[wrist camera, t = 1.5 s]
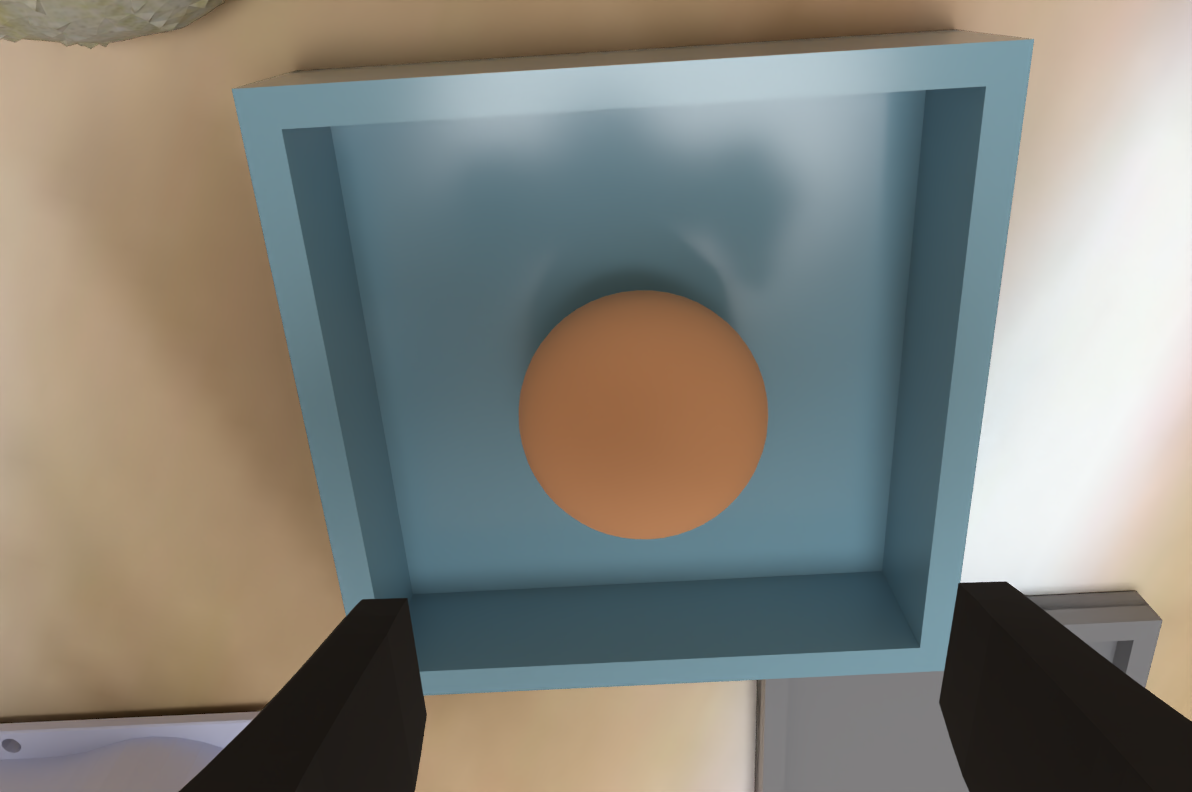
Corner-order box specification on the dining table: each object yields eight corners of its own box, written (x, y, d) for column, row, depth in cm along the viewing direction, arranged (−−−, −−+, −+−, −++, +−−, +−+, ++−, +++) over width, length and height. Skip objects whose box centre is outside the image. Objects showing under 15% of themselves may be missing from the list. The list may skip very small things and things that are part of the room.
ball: (537, 468, 21) (521, 597, 17) (517, 266, 19) (493, 352, 15) (745, 457, 21) (787, 584, 17) (748, 253, 19) (795, 336, 15)
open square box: (394, 603, 24) (363, 698, 21) (295, 71, 18) (231, 89, 15) (900, 577, 24) (948, 670, 20) (956, 29, 18) (1034, 38, 15)
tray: (752, 887, 29) (759, 923, 27) (758, 609, 24) (766, 639, 23) (1068, 874, 28) (1088, 909, 27) (1136, 591, 24) (1162, 620, 23)
